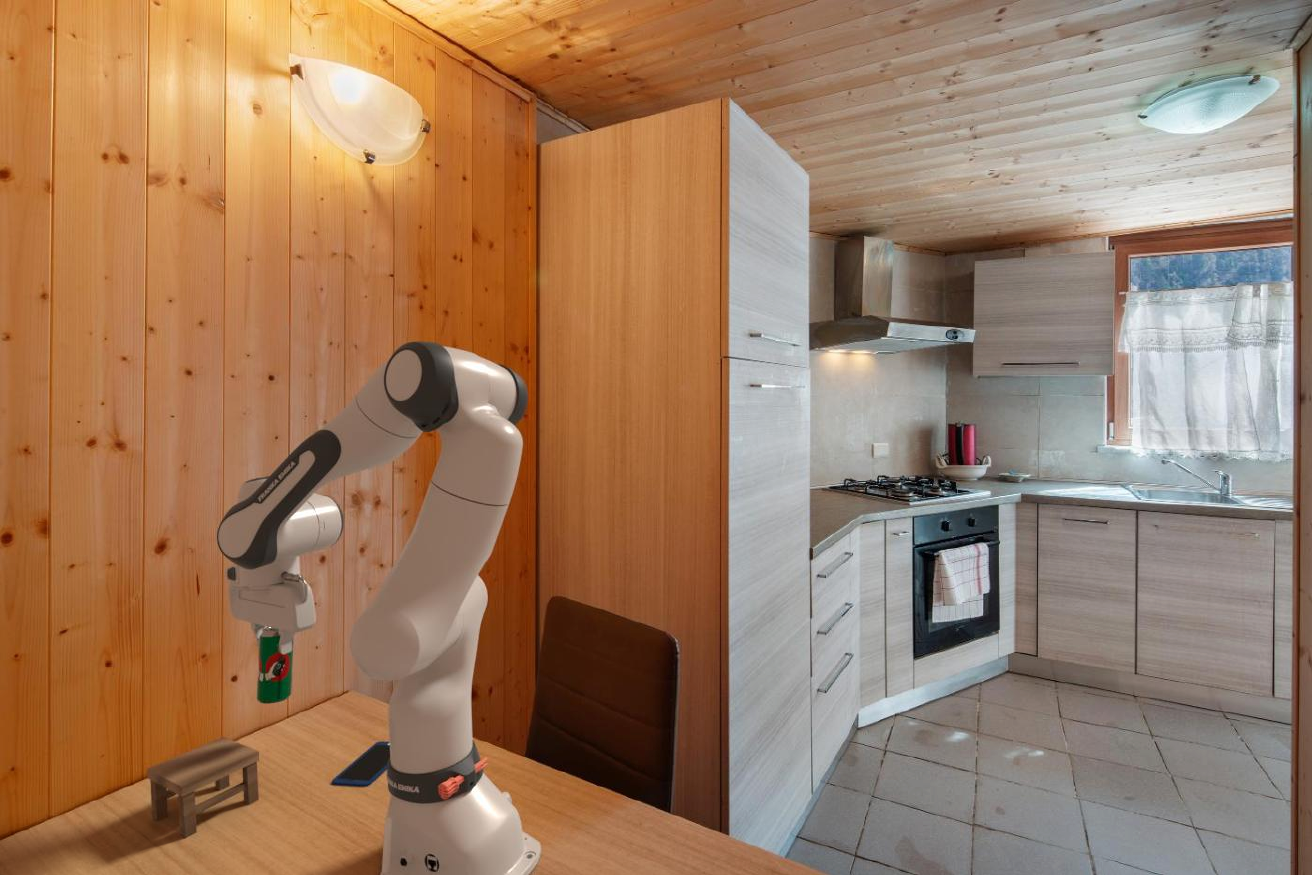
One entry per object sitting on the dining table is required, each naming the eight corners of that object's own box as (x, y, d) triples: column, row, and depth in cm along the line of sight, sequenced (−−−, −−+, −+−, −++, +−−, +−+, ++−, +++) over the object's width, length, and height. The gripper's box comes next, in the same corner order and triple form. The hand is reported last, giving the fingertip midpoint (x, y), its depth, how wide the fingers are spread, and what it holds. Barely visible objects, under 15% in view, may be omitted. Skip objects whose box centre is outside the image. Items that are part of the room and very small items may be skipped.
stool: (261, 798, 102) (258, 751, 102) (184, 839, 92) (181, 786, 92) (225, 782, 107) (223, 736, 107) (149, 818, 98) (147, 768, 97)
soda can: (298, 695, 107) (301, 625, 108) (274, 705, 102) (278, 631, 104) (273, 694, 108) (276, 624, 109) (249, 703, 103) (252, 630, 105)
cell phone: (413, 746, 118) (413, 742, 118) (368, 789, 104) (368, 784, 104) (378, 744, 119) (377, 740, 119) (329, 786, 105) (329, 782, 105)
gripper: (324, 571, 103) (328, 652, 104) (257, 561, 113) (261, 635, 114) (285, 580, 98) (290, 666, 98) (219, 569, 108) (223, 647, 108)
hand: (274, 649), depth 106 cm, fingers closed on soda can, 5 cm apart
